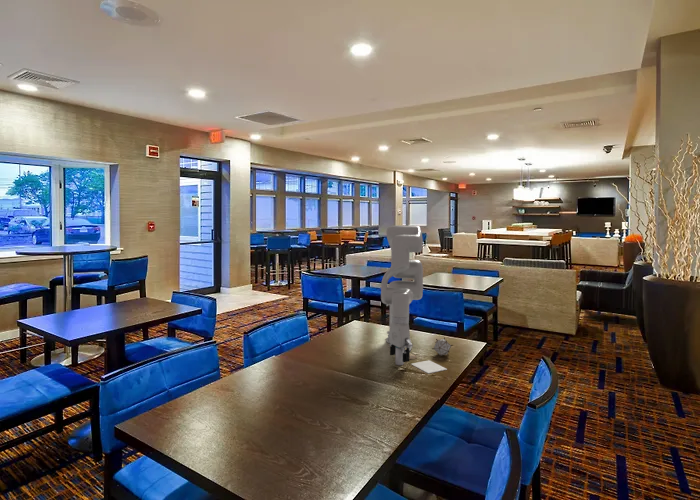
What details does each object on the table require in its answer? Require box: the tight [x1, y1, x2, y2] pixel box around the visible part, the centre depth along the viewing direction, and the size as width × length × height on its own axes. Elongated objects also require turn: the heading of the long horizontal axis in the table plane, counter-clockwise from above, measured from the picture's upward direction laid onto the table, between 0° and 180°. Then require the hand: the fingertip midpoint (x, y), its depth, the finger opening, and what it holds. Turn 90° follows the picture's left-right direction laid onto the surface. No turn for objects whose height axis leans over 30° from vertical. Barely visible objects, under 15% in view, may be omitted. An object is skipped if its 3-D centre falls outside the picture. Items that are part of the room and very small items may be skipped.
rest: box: [409, 353, 417, 361], centre depth 190 cm, size 6×6×1 cm
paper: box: [410, 359, 448, 374], centre depth 177 cm, size 12×10×1 cm
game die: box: [431, 337, 454, 358], centre depth 192 cm, size 9×8×10 cm
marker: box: [394, 346, 405, 366], centre depth 181 cm, size 4×4×9 cm
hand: (399, 358), depth 181 cm, fingers open, 9 cm apart
